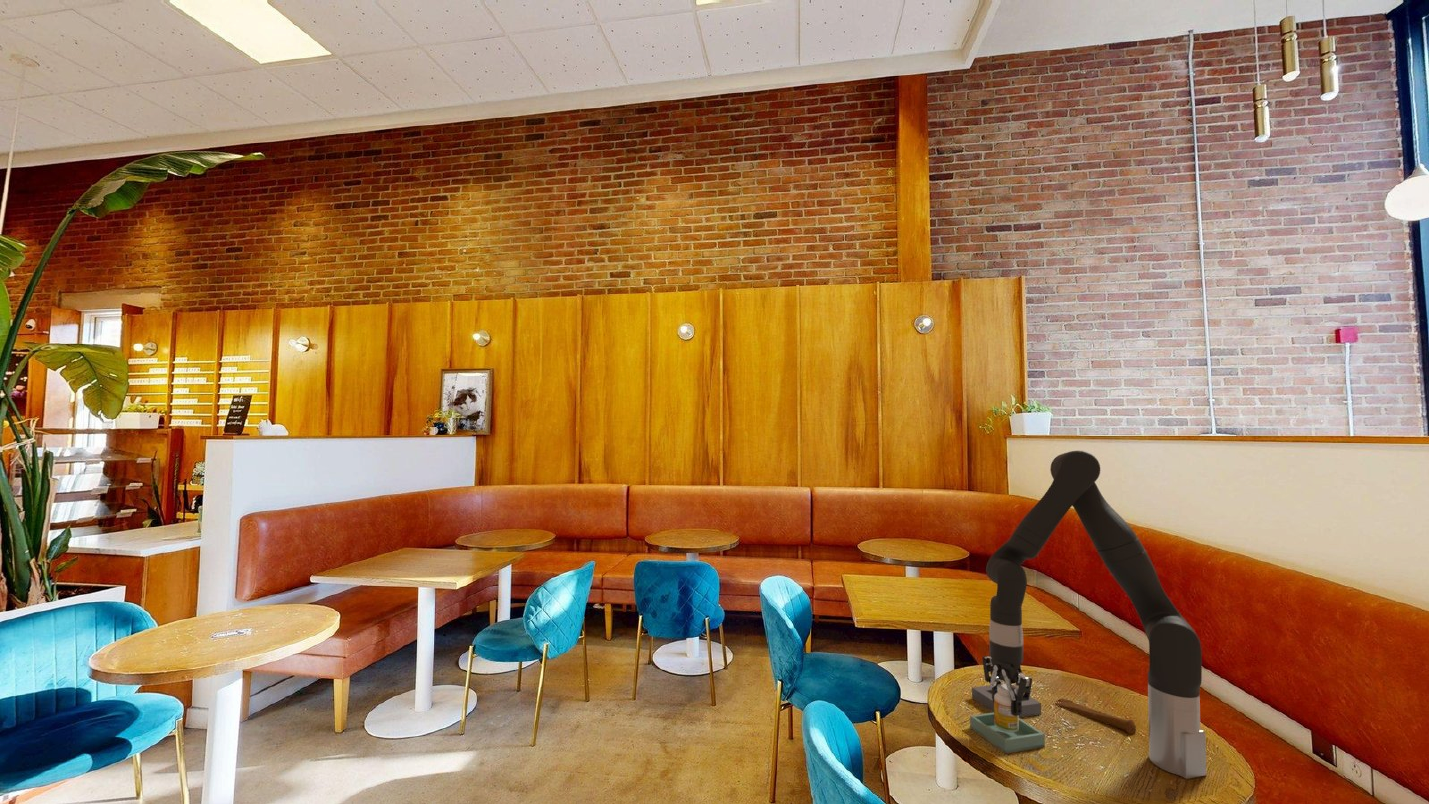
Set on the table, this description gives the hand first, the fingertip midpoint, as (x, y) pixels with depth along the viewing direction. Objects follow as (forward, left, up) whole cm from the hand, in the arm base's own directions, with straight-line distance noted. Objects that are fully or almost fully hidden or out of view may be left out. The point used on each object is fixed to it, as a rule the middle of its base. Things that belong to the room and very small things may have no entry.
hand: (1006, 708), depth 138 cm
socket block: (+13, -12, -7) cm, 19 cm away
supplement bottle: (0, 0, -5) cm, 5 cm away
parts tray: (0, 0, -7) cm, 7 cm away
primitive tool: (+3, -30, -8) cm, 32 cm away
